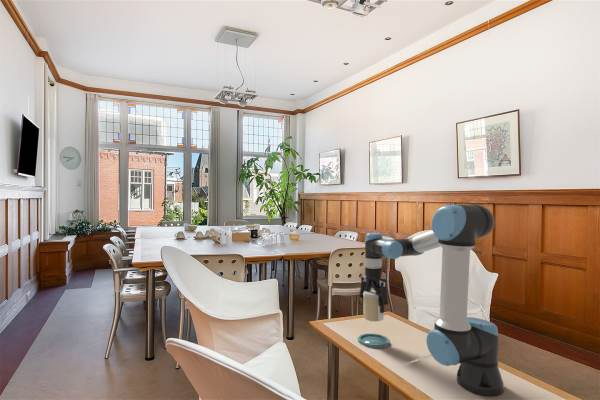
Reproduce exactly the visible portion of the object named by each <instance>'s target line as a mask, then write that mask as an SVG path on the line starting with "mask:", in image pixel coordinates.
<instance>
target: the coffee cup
mask: <svg viewBox="0 0 600 400" xmlns="http://www.w3.org/2000/svg"><path fill="white" fill-rule="evenodd" d="M362 295H363V297H364V314H365V315H364V314H363V315H364V320H366V321H369V322H381V321H382V320H378V305H379V302H378V298H379V296H378V295H376V292H375V290H374V289H371V291H367V292H366V291H364V293H363V294H362ZM380 295H381V294H380ZM380 297H381V296H380Z"/></svg>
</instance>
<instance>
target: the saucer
mask: <svg viewBox="0 0 600 400" xmlns="http://www.w3.org/2000/svg"><path fill="white" fill-rule="evenodd" d="M357 342H358V343H359V344H360V345H362V346H364V347H367V348H371V349H384V348H388V347H389V346H390V339H389V338H388V337H387V336H385V335H382V334H381V333H380V334H379V333H370V332H369V333H362V334H360V335H358V337H357Z"/></svg>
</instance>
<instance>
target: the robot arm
mask: <svg viewBox="0 0 600 400" xmlns="http://www.w3.org/2000/svg"><path fill="white" fill-rule="evenodd" d="M494 228H495V216H494V215H493V213H492V212H491V210H489V209H488V208H487V207H485V206H483V205H480V204H456V203H455V204H448V205H444V206H441V207H439V208H438V209H437V210H436V211H435V212H434V213H433V216H432V219H431V229H429V230H427V231H424V232H422V233H420V234H416V235H414V236H412V237H409V238H399V239H398V238H397V239H395V238H394V239H385V238H383V234H382V233H379V232H367V233H366V234H365V241H364V249H365V252H364V253H365V254H364V255H365V256H364V257H365V258H364V266H365V267H364V268H365V269H364V275H365V276H363V277H360V280H361V281H360V283H361V284H360V289H359V298H361V299H362V307H363V309H362V313H363V314H362V315H364V316H365V314H364V297H363V293H364V291H366V292H367V291H371V290H372V289H373V290H375V292H376V295H378V296H379V298H378V302H379V305H378V320H381V321H382V320H384V313H385V306H388V305H389V298H388V291H387V282H386V281H382V278H381V277H382V276H383V268H382V267H383V257H384V258H387V259H390V260H391V259H392V260H393V259H394V260H396V259H397V260H398V258H400V257H410V256H413V257H414V256H420V255H422V254H424V253H425V252H428V251H430V250H435V249H437V248H441V250H442V253H441V254H442V256H441V278H440V295H439V296H440V298H439V299H440V300H439V316H438V317H437V318H435V319H434V327H433V328H434V329H432V330H430V331H429V332H428V333H427V335H426V338H425V339H426V340H425V341H426V346H427V349H428V351H429V353H430V355H431V357H432V358H433V359H434V360H435V361H436V362H437V363H438V364H440V365H442V366H445V367H449V366H457V365H458V364H459V366H458V369H457V372H456V382H457V384H458V385H459V386H460V387H461V388H463V389H464V390H465V391H468V392H470V393H473V394H476V395H482V396H491V397H493V396H498V395H501V394H502V393H503V392H504V390H505V389H504V387H505V386H504V385H505V383H504V381H503V377H502V375H501V372H500V368H499V330H498V328H499V327H498V326H497V325H496V324H495V323H494V322H491V321H488V320H487V319H482V318H479V317H478V318H477V317H472V316H471V317H470V316H468V304H469V303H468V300H469V299H468V298H469V283H470V282H469V281H470V280H469V279H470V261H471V260H470V257H471V250H473V249H474V248H475V247H476V243H477V242H476V239H481V238H484V237H486V236H488V235H490V234H491V233H492V231H493V229H494ZM380 294H381V295H380ZM380 296H381V297H380Z"/></svg>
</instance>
